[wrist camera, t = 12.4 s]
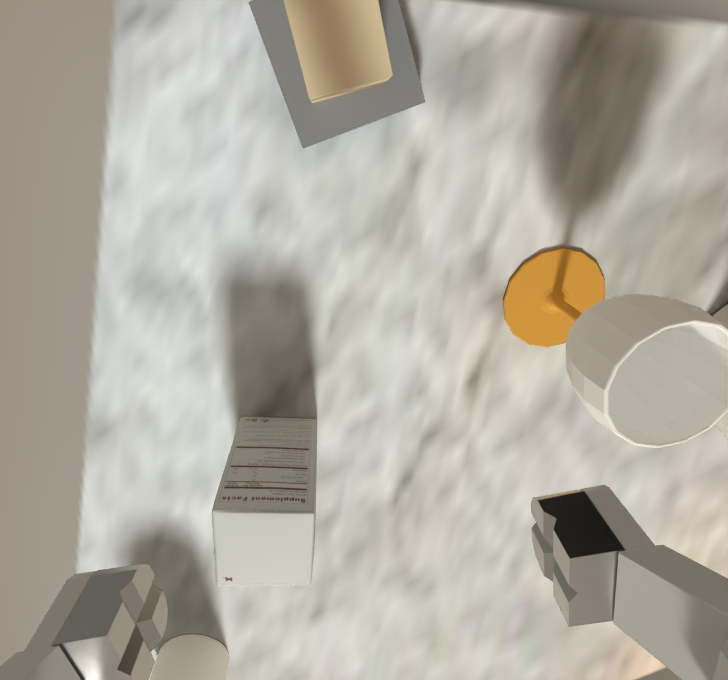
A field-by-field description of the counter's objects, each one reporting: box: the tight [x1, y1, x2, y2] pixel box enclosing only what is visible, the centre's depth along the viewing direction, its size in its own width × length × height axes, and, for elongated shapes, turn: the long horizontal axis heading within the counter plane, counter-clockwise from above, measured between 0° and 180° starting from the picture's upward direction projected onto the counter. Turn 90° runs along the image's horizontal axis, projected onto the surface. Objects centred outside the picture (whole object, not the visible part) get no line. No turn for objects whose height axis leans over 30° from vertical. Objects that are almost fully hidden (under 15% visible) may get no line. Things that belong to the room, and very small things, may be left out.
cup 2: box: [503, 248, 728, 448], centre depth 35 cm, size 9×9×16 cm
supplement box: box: [212, 417, 317, 586], centre depth 40 cm, size 7×7×13 cm
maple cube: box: [284, 0, 393, 103], centre depth 29 cm, size 5×5×5 cm
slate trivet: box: [249, 0, 425, 148], centre depth 33 cm, size 9×9×3 cm
